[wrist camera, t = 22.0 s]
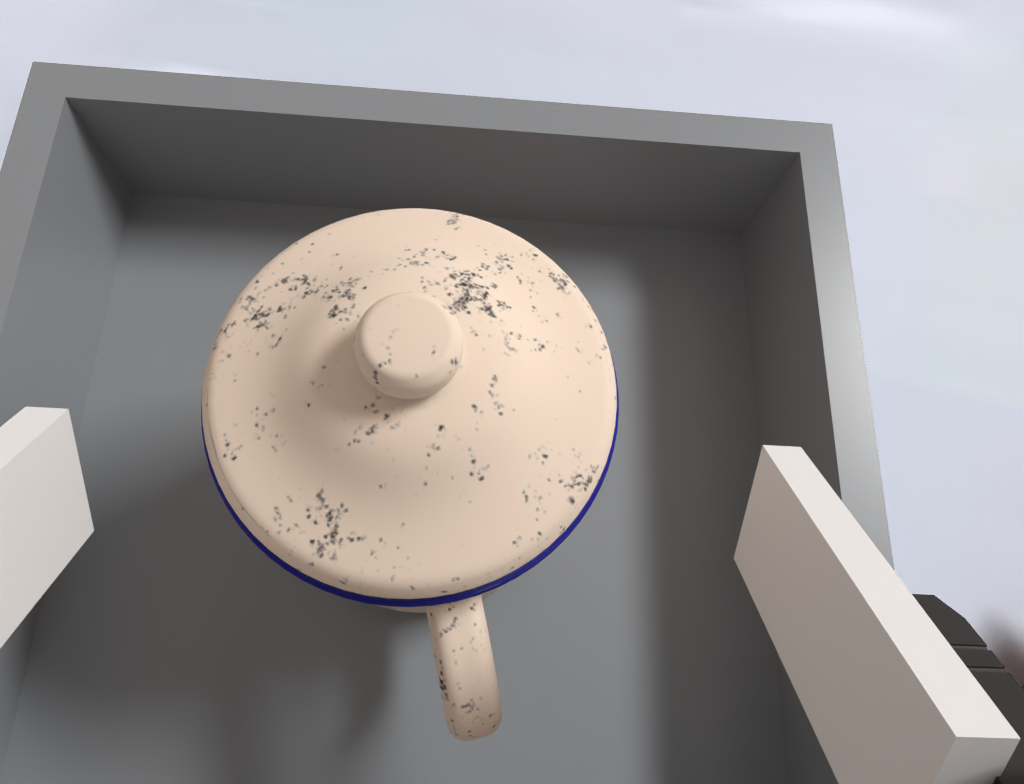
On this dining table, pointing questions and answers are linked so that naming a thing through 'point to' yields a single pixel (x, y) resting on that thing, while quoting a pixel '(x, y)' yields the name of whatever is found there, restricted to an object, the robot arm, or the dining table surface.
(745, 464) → the bus tub
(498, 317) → the teacup with lid
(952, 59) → the dining table surface
